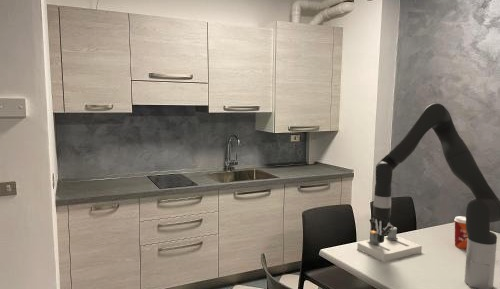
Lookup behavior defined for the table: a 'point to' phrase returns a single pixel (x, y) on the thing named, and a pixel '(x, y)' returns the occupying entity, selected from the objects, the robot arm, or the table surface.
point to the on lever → (392, 234)
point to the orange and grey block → (373, 238)
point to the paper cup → (460, 232)
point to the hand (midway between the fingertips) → (380, 242)
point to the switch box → (390, 248)
